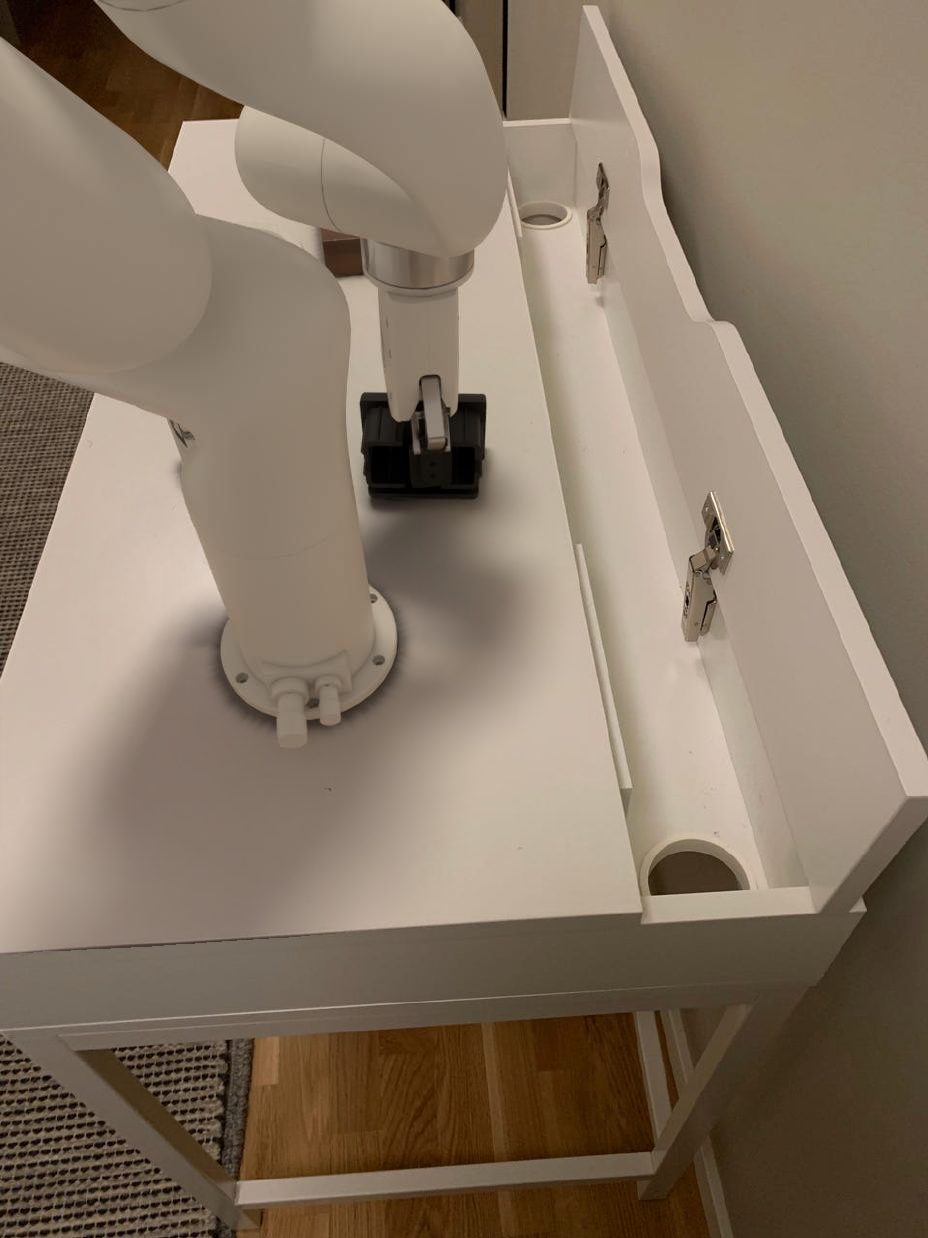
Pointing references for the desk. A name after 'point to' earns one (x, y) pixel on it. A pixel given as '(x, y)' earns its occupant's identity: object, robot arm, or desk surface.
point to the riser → (342, 253)
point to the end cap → (392, 439)
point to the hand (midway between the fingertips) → (424, 447)
